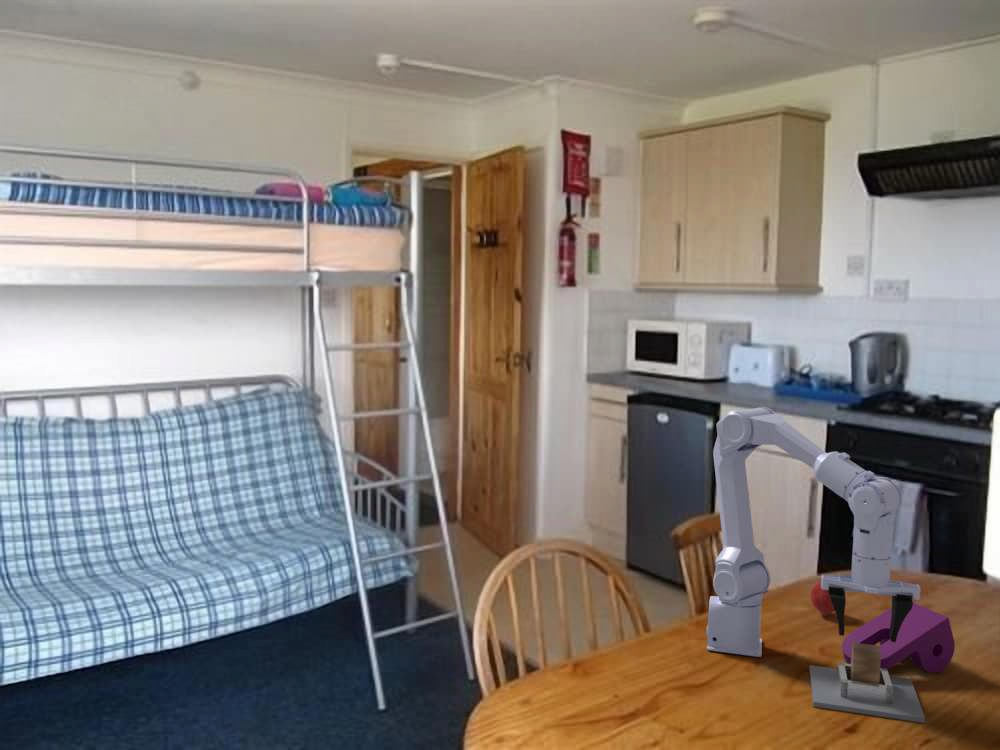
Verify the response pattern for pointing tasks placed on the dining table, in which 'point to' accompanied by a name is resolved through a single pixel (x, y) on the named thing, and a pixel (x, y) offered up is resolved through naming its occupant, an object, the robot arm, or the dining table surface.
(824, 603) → the onion
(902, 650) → the mounting bracket
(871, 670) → the walnut peg
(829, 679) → the socket board
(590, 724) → the dining table surface
